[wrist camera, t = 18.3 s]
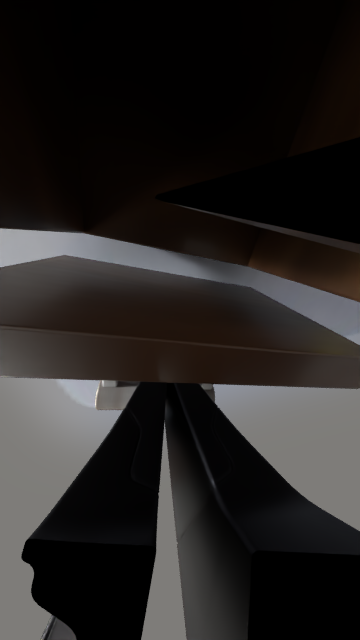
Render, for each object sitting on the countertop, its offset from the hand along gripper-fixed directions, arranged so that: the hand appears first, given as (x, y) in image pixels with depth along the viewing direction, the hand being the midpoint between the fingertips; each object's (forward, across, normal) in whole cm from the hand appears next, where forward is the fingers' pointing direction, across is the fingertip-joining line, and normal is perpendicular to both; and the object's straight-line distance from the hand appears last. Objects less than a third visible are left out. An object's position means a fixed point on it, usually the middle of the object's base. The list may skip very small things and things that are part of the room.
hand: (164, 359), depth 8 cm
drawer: (+4, 0, -6) cm, 7 cm away
